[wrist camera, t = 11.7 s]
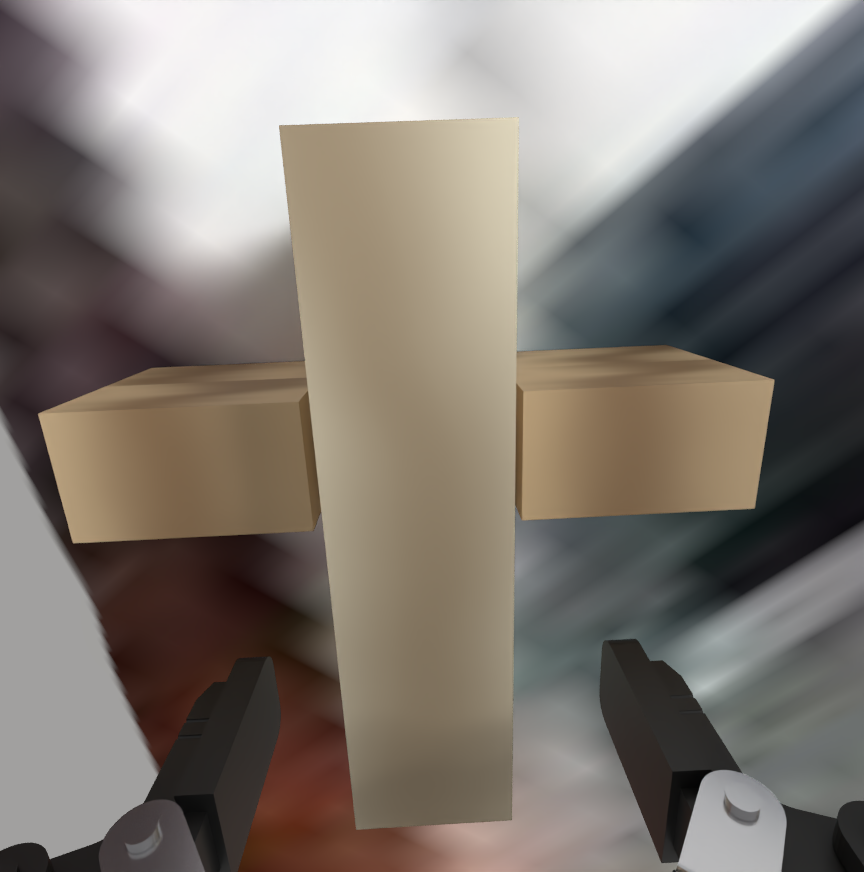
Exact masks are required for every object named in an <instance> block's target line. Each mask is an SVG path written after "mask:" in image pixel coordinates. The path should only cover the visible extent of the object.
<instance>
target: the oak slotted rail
mask: <svg viewBox="0 0 864 872" xmlns="http://www.w3.org/2000/svg"><path fill="white" fill-rule="evenodd" d="M773 387H774V380H773V379H770V378H767V377H764V376H761V375H758V374H755V373H752V372H749V371H746V370H743V369H739V368H736V367H733V366H730V365H727V364H724V363H721V362H718V361H715V360H712V359H709V358H705V357H702V356H699V355H696V354H693V353H690V352H687V351H684V350H681V349H678V348H675V347H671V346H668V345H655V346H632V347H610V348H587V349H565V350H542V351H520V352H517V355H516V457H515V505H516V508H517V510H518V512H519V515H520V517H521V520H540V519H559V518H579V517H599V516H618V515H638V514H658V513H677V512H697V511H716V510H736V509H755V502H756V496H757V489H758V483H759V477H760V470H761V464H762V457H763V451H764V444H765V438H766V432H767V425H768V419H769V412H770V406H771V400H772V393H773ZM38 415H39V419H40V423H41V426H42V430H43V434H44V438H45V441H46V445H47V449H48V452H49V456H50V460H51V463H52V467H53V471H54V475H55V478H56V482H57V486H58V489H59V493H60V497H61V501H62V504H63V508H64V512H65V515H66V519H67V523H68V527H69V530H70V534H71V538H72V541H73V543H89V542H108V541H128V540H148V539H167V538H187V537H206V536H226V535H246V534H265V533H285V532H304V531H314V529H315V526H316V523H317V521H318V518H319V515H320V513H321V504H320V494H319V485H318V476H317V467H316V458H315V449H314V440H313V431H312V421H311V412H310V403H309V394H308V385H307V376H306V367H305V361H295V362H273V363H250V364H228V365H205V366H183V367H160V368H150V369H148V370H145V371H143V372H140V373H138V374H135V375H133V376H131V377H128V378H126V379H123V380H121V381H118V382H116V383H113V384H111V385H108V386H106V387H103V388H101V389H98V390H96V391H93V392H91V393H88V394H86V395H83V396H81V397H78V398H76V399H74V400H71V401H69V402H66V403H64V404H61V405H59V406H56V407H54V408H51V409H49V410H46V411H44V412H41V413H39V414H38Z"/></svg>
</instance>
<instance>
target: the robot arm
mask: <svg viewBox="0 0 864 872" xmlns="http://www.w3.org/2000/svg"><path fill="white" fill-rule="evenodd" d="M600 704H601V709H602V714H603V717H604V720H605V723H606V725H607V728H608V730H609V733H610V735H611V738H612V740H613V743H614V745H615V748H616V750H617V753H618V755H619V758H620V760H621V763H622V765H623V768H624V770H625V773H626V775H627V778H628V780H629V783H630V785H631V788H632V790H633V793H634V795H635V798H636V800H637V803H638V805H639V808H640V810H641V813H642V815H643V818H644V820H645V823H646V825H647V828H648V830H649V833H650V835H651V838H652V840H653V843H654V845H655V848H656V850H657V853H658V855H659V858H660V860H661V863H671V862H679V863H678V866H677V869H676V871H675V870H673V872H864V801H852V802H849V803H846V804H845V805H843V806H842V807H841V808H840V810H839V813H838V816H837V819H835V818H831V817H827V816H823V815H819V814H815V813H811V812H806V811H802V810H798V809H795V808H791V807H788V806H786V805H783V804H781V803H780V802H779V800H778V799H777V798H776V797H775V795H774V794H773V793H772V792H771V791H770V790H769V789H768V788H767V787H765V786H764V785H763V784H762V783H760V782H758V781H757V780H755V779H754V778H752V777H750V776H748V775H745V774H743V773H742V772H741V770H740V769H739V767H738V765H737V764H736V762H735V761H734V759H733V758H732V756H731V754H730V753H729V751H728V750H727V748H726V746H725V745H724V743H723V742H722V740H721V738H720V737H719V735H718V734H717V732H716V731H715V729H714V727H713V726H712V724H711V723H710V721H709V719H708V718H707V716H706V715H705V714H703V711H702V708H701V707H700V705H699V703H698V702H697V700H696V699H695V698H693V694H692V692H691V691H690V689H689V688H688V686H687V684H686V683H685V681H684V680H683V678H682V676H681V675H679V674H678V673H677V672H676V671H675V670H673V669H672V668H671V667H670V666H668V665H667V664H666V663H665V662H664V661H650V660H649V659H648V657H647V655H646V653H645V652H644V650H643V648H642V646H641V645H640V643H639V642H638V641H637V640H636V639H624V640H605V641H604V642H603V646H602V659H601V675H600ZM280 719H281V711H280V702H279V696H278V690H277V684H276V678H275V672H274V666H273V661H272V659H271V657H253V658H239V659H237V661H236V662H235V664H234V666H233V668H232V671H231V673H230V675H229V677H228V679H227V681H226V682H214V683H213V684H212V685H211V686H210V687H209V688H208V689H207V690H206V691H205V692H204V693H203V694H202V695H201V696H200V697H199V698H198V699H197V700H196V702H195V704H194V706H193V708H192V710H191V712H190V714H189V716H188V717H187V722H186V723H184V725H183V727H182V729H181V731H180V733H179V735H178V740H176V741H175V743H174V745H173V747H172V749H171V751H170V753H169V755H168V757H167V759H166V761H165V762H164V764H163V766H162V768H161V770H160V772H159V774H158V776H157V778H156V780H155V782H154V784H153V786H152V788H151V790H150V792H149V794H148V796H147V798H146V800H145V801H144V803H143V804H141V805H139V806H137V807H135V808H133V809H132V810H130V811H129V812H127V813H126V814H125V815H123V816H122V817H121V818H120V819H119V820H118V821H117V822H116V823H115V824H114V825H113V826H112V827H111V828H110V830H109V831H108V833H107V834H106V836H105V838H104V839H103V840H101V841H99V842H97V843H94V844H92V845H89V846H86V847H84V848H81V849H78V850H75V851H72V852H70V853H66V854H64V855H61V856H58V857H55V858H52V859H49V856H48V853H47V851H46V849H45V848H44V847H43V846H41V845H39V844H36V843H22V844H17V845H14V846H11V847H8V848H6V849H4V850H2V851H0V872H237V871H238V868H239V864H240V861H241V858H242V855H243V851H244V848H245V845H246V841H247V838H248V835H249V831H250V828H251V825H252V821H253V818H254V815H255V811H256V808H257V805H258V801H259V798H260V795H261V791H262V788H263V785H264V781H265V778H266V775H267V771H268V768H269V765H270V761H271V758H272V755H273V751H274V748H275V745H276V741H277V738H278V734H279V729H280Z"/></svg>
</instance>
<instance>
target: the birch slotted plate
mask: <svg viewBox="0 0 864 872" xmlns="http://www.w3.org/2000/svg"><path fill="white" fill-rule="evenodd" d="M279 130H280V139H281V148H282V157H283V166H284V175H285V184H286V193H287V203H288V212H289V221H290V230H291V239H292V248H293V257H294V266H295V276H296V285H297V294H298V303H299V312H300V321H301V330H302V339H303V349H304V358H305V367H306V376H307V385H308V394H309V403H310V412H311V421H312V431H313V440H314V449H315V458H316V467H317V476H318V485H319V494H320V504H321V513H322V522H323V531H324V540H325V549H326V558H327V567H328V577H329V586H330V595H331V604H332V613H333V622H334V631H335V640H336V650H337V659H338V668H339V677H340V686H341V695H342V704H343V713H344V722H345V732H346V741H347V750H348V759H349V768H350V777H351V786H352V795H353V805H354V814H355V823H356V830H357V829H374V828H391V827H407V826H424V825H440V824H457V823H474V822H490V821H507V820H512V761H513V659H514V558H515V457H516V355H517V254H518V152H519V117H513V118H484V119H455V120H426V121H396V122H367V123H338V124H309V125H280V126H279Z"/></svg>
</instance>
